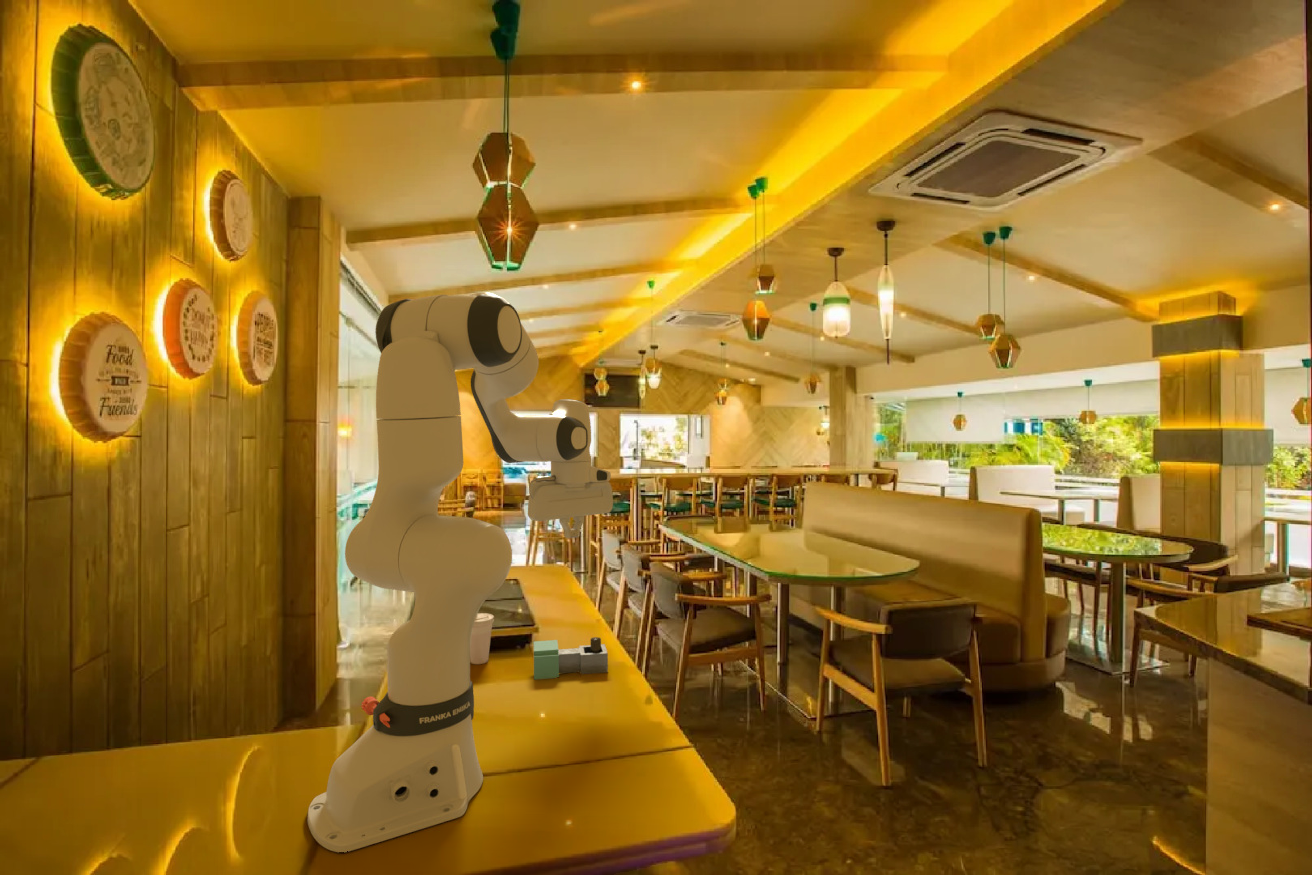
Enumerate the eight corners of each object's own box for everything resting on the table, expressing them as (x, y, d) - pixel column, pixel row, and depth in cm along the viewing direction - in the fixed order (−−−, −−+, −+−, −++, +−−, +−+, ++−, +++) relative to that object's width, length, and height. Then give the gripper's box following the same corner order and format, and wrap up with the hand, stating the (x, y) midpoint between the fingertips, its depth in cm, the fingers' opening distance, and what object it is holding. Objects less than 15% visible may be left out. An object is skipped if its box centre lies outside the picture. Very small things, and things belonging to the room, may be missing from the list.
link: (604, 662, 137) (604, 644, 137) (607, 672, 132) (607, 653, 132) (536, 667, 135) (536, 648, 135) (536, 677, 129) (536, 658, 129)
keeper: (557, 664, 136) (557, 639, 136) (558, 677, 129) (558, 651, 129) (533, 666, 135) (533, 641, 135) (534, 679, 128) (533, 653, 128)
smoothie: (464, 657, 141) (463, 595, 141) (493, 654, 143) (493, 592, 142) (464, 668, 135) (463, 602, 134) (495, 664, 137) (494, 600, 136)
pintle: (594, 669, 133) (594, 641, 133) (588, 666, 135) (588, 638, 135) (603, 667, 135) (602, 639, 135) (597, 664, 136) (596, 636, 136)
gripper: (537, 478, 129) (537, 545, 129) (616, 472, 142) (617, 533, 142) (521, 476, 134) (522, 541, 134) (600, 471, 147) (600, 530, 147)
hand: (572, 537), depth 138 cm, fingers closed
